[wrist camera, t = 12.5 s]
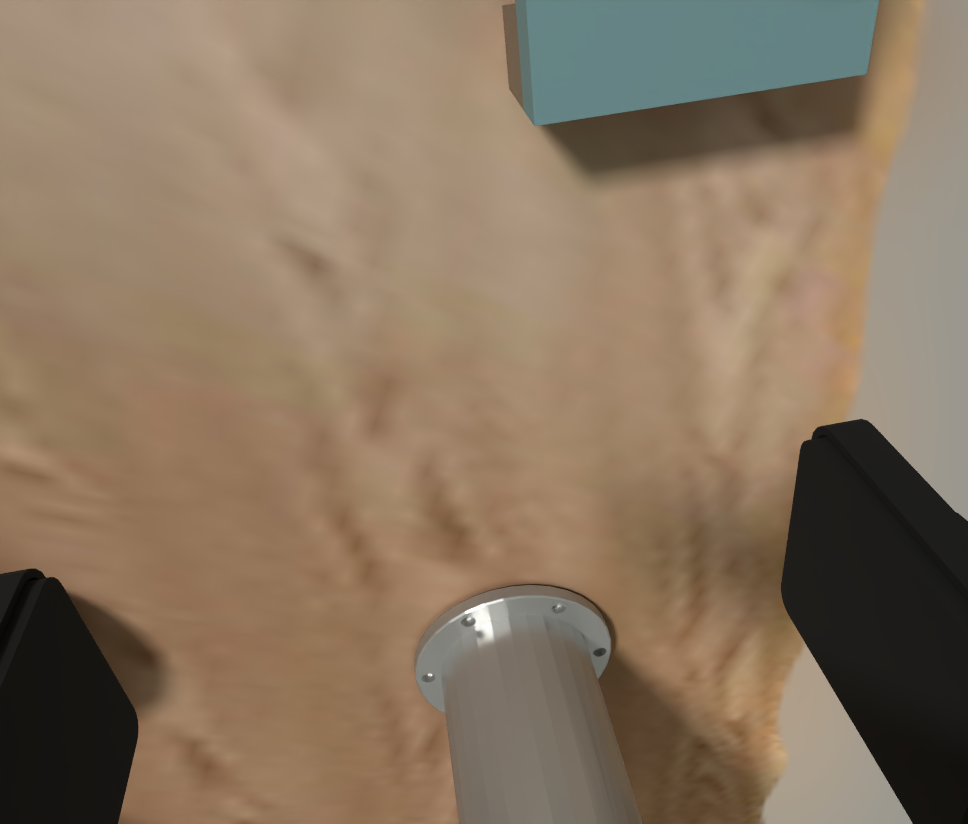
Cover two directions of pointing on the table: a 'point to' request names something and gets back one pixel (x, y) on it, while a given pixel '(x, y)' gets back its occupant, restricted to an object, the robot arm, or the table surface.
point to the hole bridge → (675, 51)
